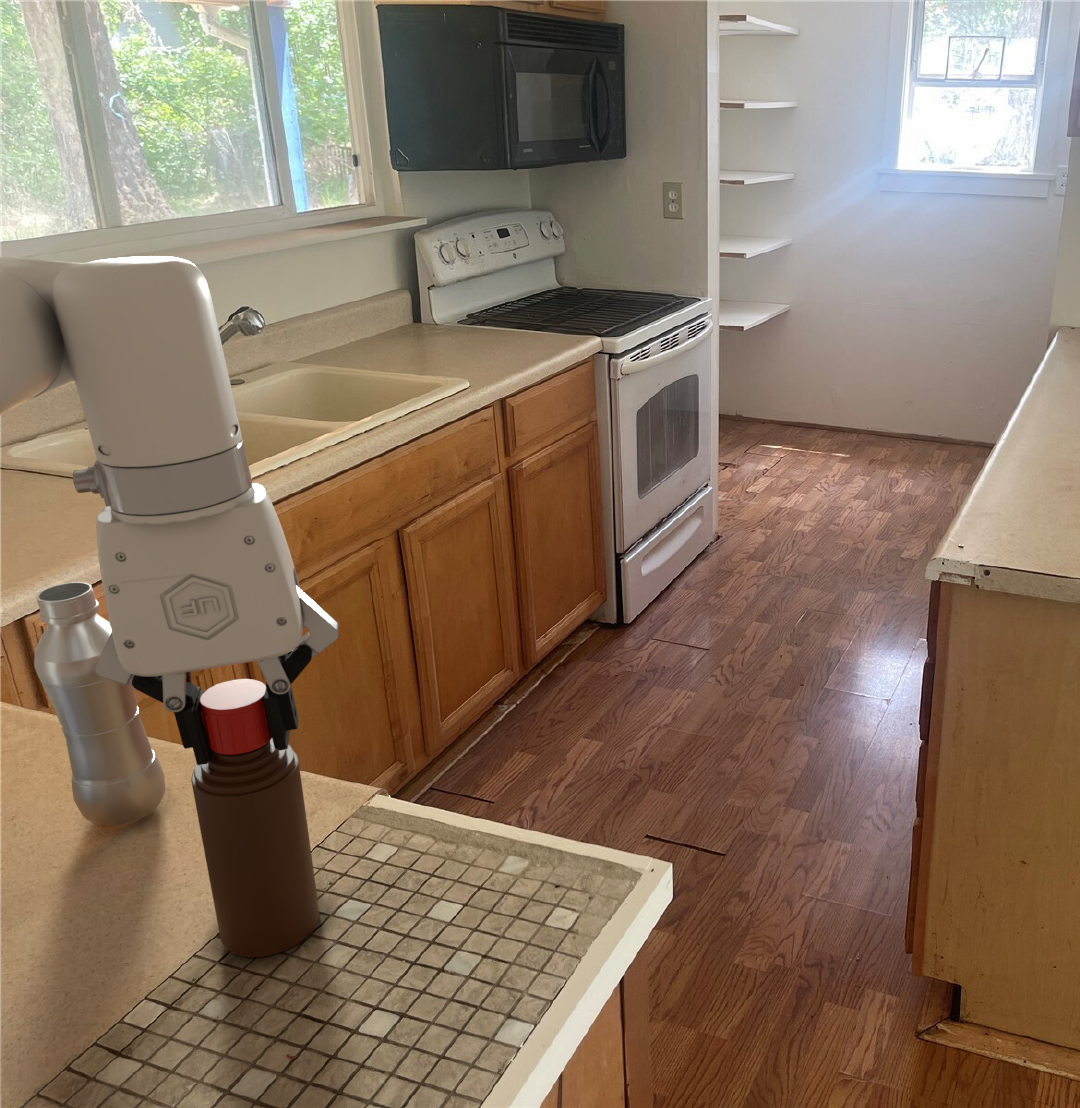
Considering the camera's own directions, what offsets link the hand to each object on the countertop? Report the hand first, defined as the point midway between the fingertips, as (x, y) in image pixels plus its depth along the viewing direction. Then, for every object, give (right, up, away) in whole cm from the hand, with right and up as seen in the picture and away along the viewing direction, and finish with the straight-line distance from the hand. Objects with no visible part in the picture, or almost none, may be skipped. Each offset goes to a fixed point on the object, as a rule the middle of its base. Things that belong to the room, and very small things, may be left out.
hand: (245, 743), depth 67 cm
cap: (0, 0, 0) cm, 0 cm away
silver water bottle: (-18, -9, +18) cm, 27 cm away
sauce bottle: (-1, -14, +6) cm, 15 cm away
